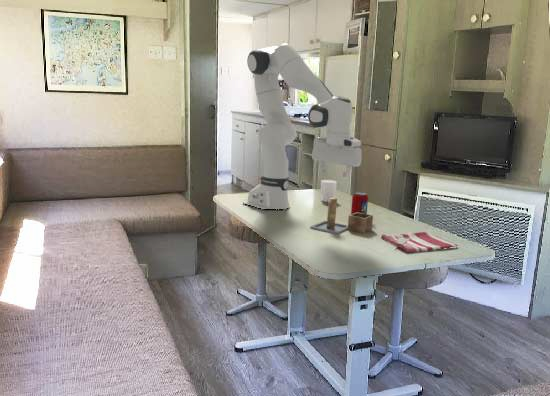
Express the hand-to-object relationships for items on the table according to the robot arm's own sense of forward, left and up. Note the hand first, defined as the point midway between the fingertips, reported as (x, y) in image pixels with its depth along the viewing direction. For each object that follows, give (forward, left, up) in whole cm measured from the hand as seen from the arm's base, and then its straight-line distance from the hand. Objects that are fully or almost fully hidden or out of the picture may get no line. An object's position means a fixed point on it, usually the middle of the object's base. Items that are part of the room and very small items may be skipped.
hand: (334, 174), depth 198 cm
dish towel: (+34, +6, -23) cm, 42 cm away
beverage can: (+2, +22, -23) cm, 32 cm away
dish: (0, 0, -22) cm, 22 cm away
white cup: (-26, +46, -23) cm, 57 cm away
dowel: (0, 0, -22) cm, 22 cm away
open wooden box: (+10, +6, -22) cm, 25 cm away
